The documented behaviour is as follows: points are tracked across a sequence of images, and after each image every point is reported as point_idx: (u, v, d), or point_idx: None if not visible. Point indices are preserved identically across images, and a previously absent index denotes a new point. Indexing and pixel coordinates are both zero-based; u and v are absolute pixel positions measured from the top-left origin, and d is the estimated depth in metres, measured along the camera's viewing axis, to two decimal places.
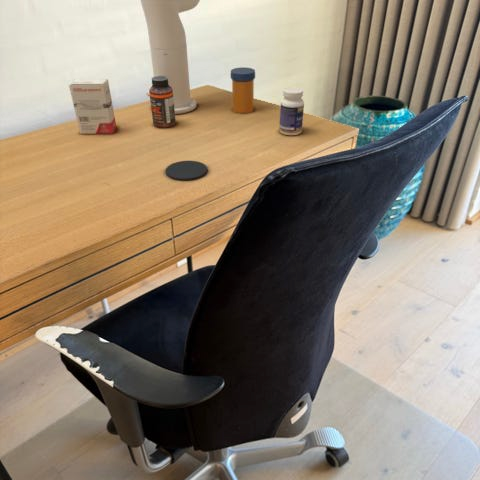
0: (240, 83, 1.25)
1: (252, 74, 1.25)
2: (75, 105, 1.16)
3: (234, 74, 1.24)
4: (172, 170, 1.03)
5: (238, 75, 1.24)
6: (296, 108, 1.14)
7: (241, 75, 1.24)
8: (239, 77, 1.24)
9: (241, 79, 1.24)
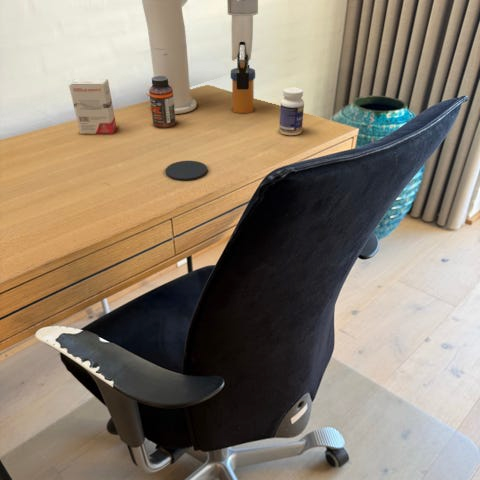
0: None
1: (252, 74, 1.25)
2: (75, 105, 1.16)
3: (234, 74, 1.24)
4: (172, 170, 1.03)
5: None
6: (296, 108, 1.14)
7: None
8: None
9: None
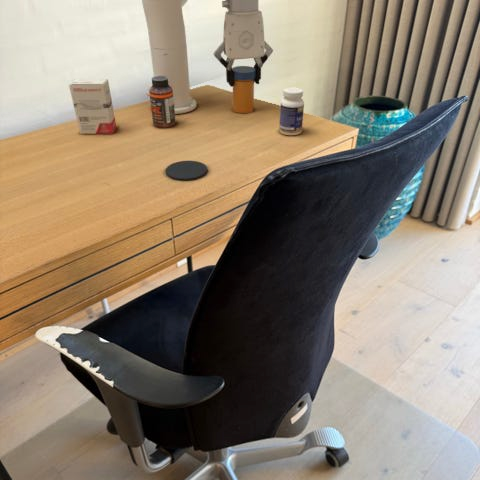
0: (241, 83, 1.25)
1: None
2: (75, 105, 1.16)
3: (254, 72, 1.25)
4: (172, 170, 1.03)
5: (255, 71, 1.26)
6: (296, 108, 1.14)
7: (255, 70, 1.26)
8: None
9: None
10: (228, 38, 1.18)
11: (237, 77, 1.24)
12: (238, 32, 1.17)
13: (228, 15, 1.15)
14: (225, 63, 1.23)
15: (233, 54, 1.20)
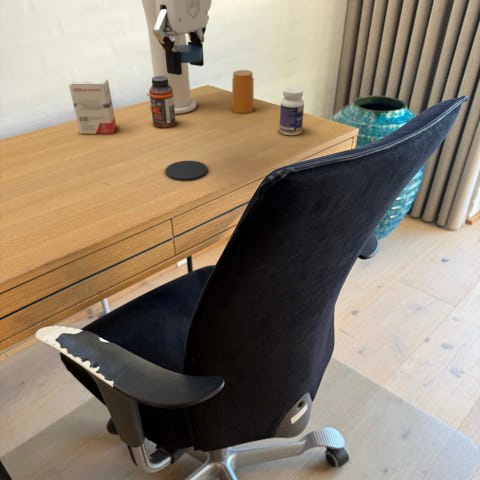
0: (240, 83, 1.25)
1: None
2: (75, 105, 1.16)
3: None
4: (172, 170, 1.03)
5: None
6: (296, 108, 1.14)
7: None
8: None
9: None
10: (176, 3, 0.82)
11: (187, 59, 0.89)
12: None
13: None
14: (170, 42, 0.86)
15: (183, 26, 0.85)
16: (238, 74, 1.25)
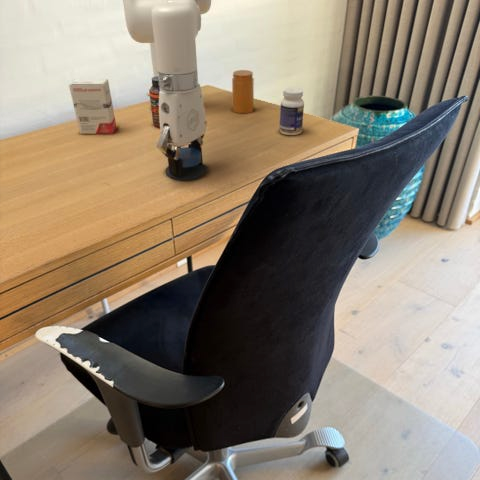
0: (240, 83, 1.25)
1: None
2: (75, 105, 1.16)
3: None
4: None
5: None
6: (296, 108, 1.14)
7: None
8: None
9: None
10: (177, 123, 0.91)
11: (188, 164, 0.99)
12: (186, 113, 0.92)
13: (173, 96, 0.89)
14: (172, 153, 0.96)
15: (184, 140, 0.94)
16: (238, 74, 1.25)
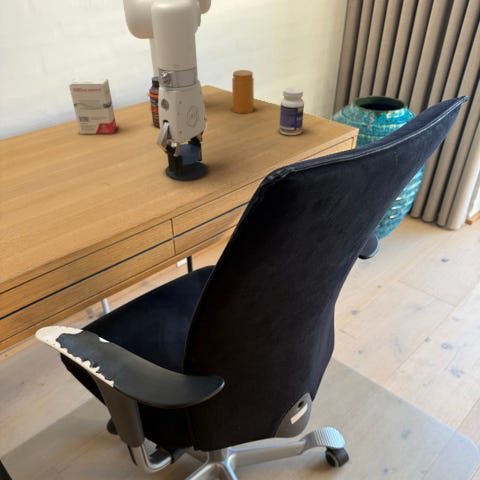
0: (240, 83, 1.25)
1: None
2: (75, 105, 1.16)
3: None
4: None
5: None
6: (296, 108, 1.14)
7: None
8: None
9: None
10: (177, 120, 0.91)
11: (187, 161, 0.99)
12: (185, 110, 0.92)
13: (172, 93, 0.89)
14: (172, 149, 0.96)
15: (183, 137, 0.94)
16: (238, 74, 1.25)
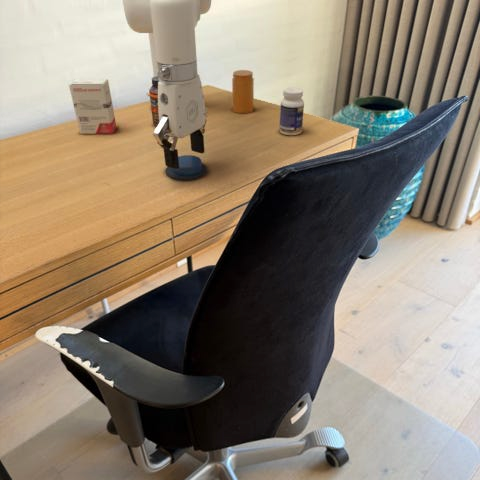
0: (240, 83, 1.25)
1: None
2: (75, 105, 1.16)
3: None
4: None
5: None
6: (296, 108, 1.14)
7: None
8: None
9: None
10: (177, 114, 0.90)
11: (189, 173, 1.00)
12: (185, 104, 0.91)
13: (172, 87, 0.88)
14: (168, 143, 0.94)
15: (183, 132, 0.93)
16: (238, 74, 1.25)
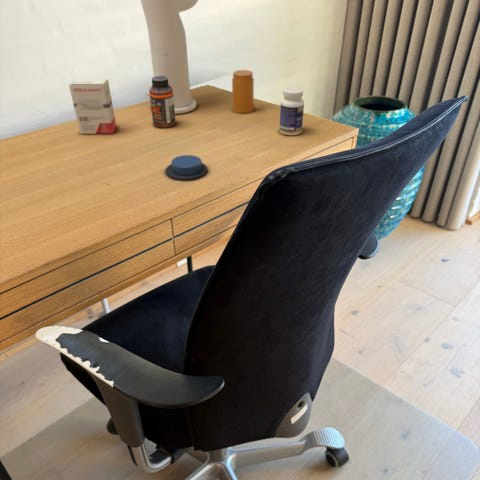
0: (240, 83, 1.25)
1: None
2: (75, 105, 1.16)
3: None
4: None
5: None
6: (296, 108, 1.14)
7: None
8: None
9: None
10: None
11: (189, 173, 1.00)
12: None
13: None
14: None
15: None
16: (238, 74, 1.25)
